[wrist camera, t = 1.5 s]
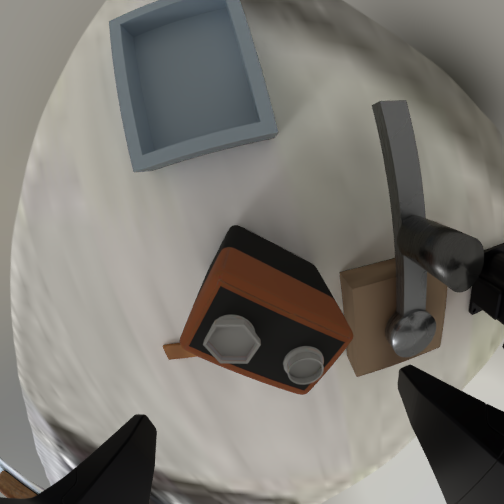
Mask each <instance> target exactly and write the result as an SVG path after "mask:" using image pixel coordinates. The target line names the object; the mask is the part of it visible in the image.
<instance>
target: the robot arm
mask: <svg viewBox="0 0 504 504" xmlns="http://www.w3.org/2000/svg"><path fill="white" fill-rule="evenodd" d="M482 310H483V311H485V312H486V313H487V314H488V315H490V316H491V317H492V318H493V319H495V320H496V319H497V320H498V321H500V322H501V323H502V324H503V325H504V243H503V244H500V245H497V246H495V247H492V248H490V249H487V250H484V263H483V268H482V271H481V273H480V275H479V277H478V279H477V281H476V282H475V283H474V284H473V285H472V291H471V299H470V306H469V313H471V314H472V315H473V314H476V313H478V312H480V311H482ZM503 348H504V344H503ZM398 390H399V393H400V395H401V398H402V401H403V404H404V406H405V409H406V412H407V415H408V418H409V421H410V423H411V426H412V428H413V430H414V432H415V434H416V436H417V438H418V440H419V442H420V444H421V446H422V448H423V450H424V453H425V455H426V457H427V459H428V461H429V464H430V466H431V468H432V470H433V472H434V474H435V477H436V479H437V481H438V484H439V486H440V488H441V491H442V493H443V495H444V498H445V500H446V503H447V504H504V412H503V411H501V410H499V409H497V408H495V407H493V406H490V405H488V404H485V403H484V402H482V401H480V400H478V399H476V398H474V397H472V396H470V395H468V394H466V393H464V392H463V391H461V390H459V389H457V388H455V387H453V386H451V385H449V384H447V383H445V382H443V381H441V380H439V379H437V378H435V377H434V376H432V375H430V374H428V373H426V372H424V371H422V370H420V369H418V368H416V367H415V366H413V365H408V366H405V367H402V368H401V369H400V370H399V377H398ZM156 436H157V431H156V428H155V426H154V425H153V424H152V422H151V421H150V420H149V418H148V417H147V416H146V415H139V414H137V415H134V416H133V417H132V418H131V419H130V420H129V421H128V422H127V423H126V424H124V425H123V426H122V427H121V428H120V429H119V430H118V431H117V432H116V433H114V434H113V435H112V436H111V437H110V438H109V439H108V440H107V441H106V442H104V443H103V444H102V445H101V446H100V447H99V448H98V449H97V450H95V451H94V452H93V453H92V454H91V455H90V456H88V457H87V458H86V459H85V460H84V461H83V462H82V463H80V464H79V465H78V466H77V467H76V468H74V469H73V470H72V471H71V472H70V473H68V474H67V475H66V476H65V477H63V478H62V479H61V480H59V481H58V482H56V483H55V484H54V485H52V486H51V487H49V488H47V489H46V490H44V491H43V492H41V493H40V494H38V495H36V496H34V497H32V498H26V499H18V498H1V497H0V504H149V499H150V493H151V486H152V480H153V474H154V467H155V453H156Z"/></svg>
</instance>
